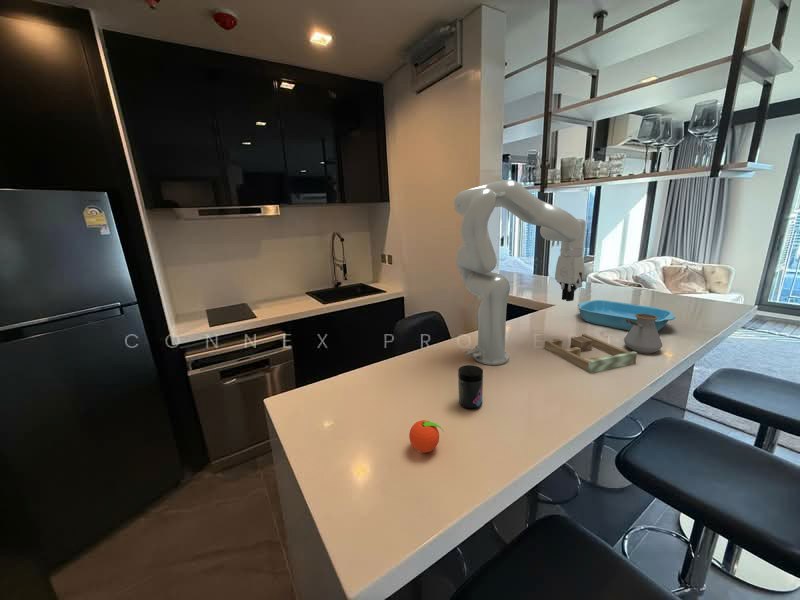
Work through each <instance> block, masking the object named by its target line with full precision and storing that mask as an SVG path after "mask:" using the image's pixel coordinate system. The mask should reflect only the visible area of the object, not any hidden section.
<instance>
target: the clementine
mask: <svg viewBox="0 0 800 600" xmlns="http://www.w3.org/2000/svg"><path fill="white" fill-rule="evenodd" d="M438 428H440V430H441V431H442V432H444V430H443V428H442V427H441V426H440V425H439V424H437V423H435V422H433V421H430V420H426V419H425V420H424V419H423V420H418V421H416V422H415V423H414V424H413V425H412V426H411V427H410V430H409V433H408V434H409V435H408V437H409V438H408V439H409V442H410V445H412V447H413V449H415V450H416V451H417V452H419V453H424V454H425V453H431V452H432V451H433V450H435V449H436V448H437V446H438V444H439V441H440V433H439V429H438Z"/></svg>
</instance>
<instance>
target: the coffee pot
mask: <svg viewBox="0 0 800 600" xmlns="http://www.w3.org/2000/svg"><path fill="white" fill-rule="evenodd" d="M635 316H636V317H637V322H635V321H631V320H629V319H626V321H627V322H628V323H629V324H630V323H631V324H633V325H634V326H633V327H632V328H631V330H630V331H628V332H627V334H626V335H625V337H624V339H623V342H624V344H625V345H626V346H627V347H628V348H629V350H631V351H632V352H633V351H634V352H637V353H640V354H654V353H655V352H658V351H660V350H661V349H662V347H663V342H662V339H661V337H660V334H659V330H658V331H657V328H656V326H655V321H656V320H657V319H658V317H656V316H654V315H650V314H635ZM623 321H624V320H623ZM623 321H622V323H623ZM629 324H628V325H629Z"/></svg>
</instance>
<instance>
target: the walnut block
mask: <svg viewBox="0 0 800 600" xmlns="http://www.w3.org/2000/svg"><path fill="white" fill-rule="evenodd" d="M592 342H593V340H590V339H588V338H585V337H583V336H582V335H581V336H574V337H571V339H570V348H574V347H578V348H580V349H581V353H584V352H588V351H593V350H592V349H593V346H592Z"/></svg>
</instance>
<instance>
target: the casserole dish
mask: <svg viewBox="0 0 800 600" xmlns="http://www.w3.org/2000/svg"><path fill="white" fill-rule="evenodd" d="M577 306H578V310H579V314H580V316H581V318H582V319H583V321H586V322H588V323H591V324H595V325H599V326H603V327H604V326H605V327H609V328H614V329H618V330H623V331H628V332H629V331H630V330H631V328H632V327H633V326H634V325H633V324H631V323H630V324H629V323H628V322H627V321H626V319H629V320H631V321H635V322H637V317H636V316H635V314H650V315H654V316H656V317H658V319H657V320H656V321H655V326H656V328H657V331H658V332H659V331H660V330H662V329H663V328H664V327H665V326H666V325H667V323H668V322H669V321H673V320H675V319H676V315H675V314H673V312H672V311H670V310H668V309H664V308H659V307H653V306H647V305H640V304H633V303H626V302H619V301H613V300H612V301H611V300H605V299H593V300H587V301H582V302H578V303H577ZM623 320H624V321H623ZM622 321H623V323H622ZM628 324H629V325H628Z"/></svg>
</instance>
